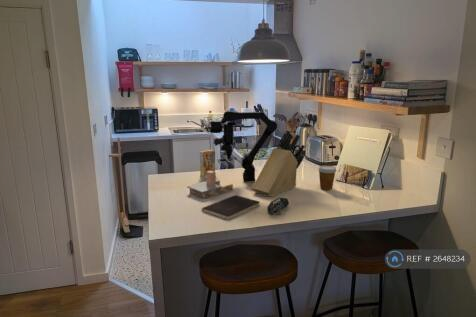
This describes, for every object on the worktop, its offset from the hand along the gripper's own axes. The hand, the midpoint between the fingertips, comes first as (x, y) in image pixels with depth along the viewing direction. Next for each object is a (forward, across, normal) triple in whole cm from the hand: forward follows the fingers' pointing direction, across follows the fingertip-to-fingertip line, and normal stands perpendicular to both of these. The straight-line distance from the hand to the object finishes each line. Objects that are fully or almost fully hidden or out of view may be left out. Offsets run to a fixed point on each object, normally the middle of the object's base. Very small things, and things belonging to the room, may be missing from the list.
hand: (228, 159), depth 202 cm
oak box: (+13, +20, -7) cm, 25 cm away
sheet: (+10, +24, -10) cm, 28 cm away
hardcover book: (+14, +43, +7) cm, 46 cm away
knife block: (+13, +11, +30) cm, 34 cm away
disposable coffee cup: (+13, +9, +55) cm, 57 cm away
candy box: (+13, -12, -15) cm, 23 cm away
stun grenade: (+13, +44, +29) cm, 55 cm away
